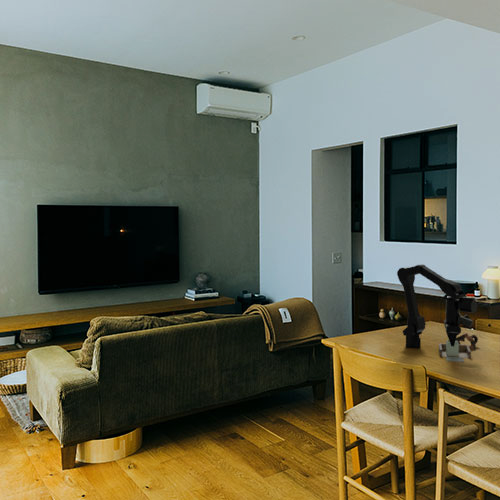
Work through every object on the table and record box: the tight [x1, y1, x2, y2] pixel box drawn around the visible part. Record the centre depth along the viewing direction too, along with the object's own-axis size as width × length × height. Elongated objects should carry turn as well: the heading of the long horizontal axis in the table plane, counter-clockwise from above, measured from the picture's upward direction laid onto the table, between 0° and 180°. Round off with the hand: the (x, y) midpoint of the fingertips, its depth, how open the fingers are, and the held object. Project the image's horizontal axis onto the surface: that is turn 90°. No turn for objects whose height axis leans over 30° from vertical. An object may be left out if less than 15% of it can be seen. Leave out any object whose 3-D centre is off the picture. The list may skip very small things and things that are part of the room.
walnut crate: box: [438, 342, 472, 359], centre depth 238 cm, size 13×13×3 cm
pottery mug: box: [456, 333, 479, 351], centre depth 250 cm, size 12×10×8 cm
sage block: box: [445, 339, 459, 356], centre depth 236 cm, size 5×5×6 cm
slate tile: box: [445, 356, 465, 363], centre depth 228 cm, size 7×7×1 cm
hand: (452, 344), depth 236 cm, fingers open, 9 cm apart
